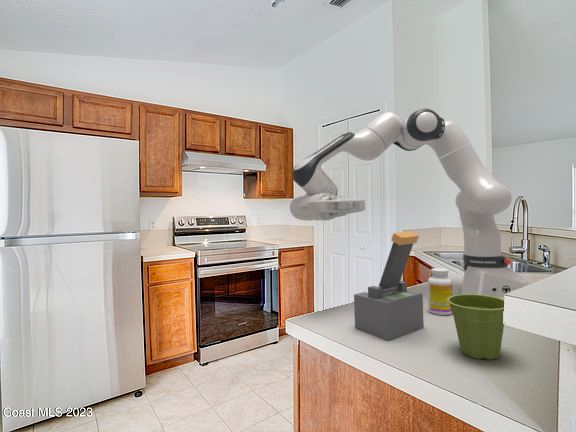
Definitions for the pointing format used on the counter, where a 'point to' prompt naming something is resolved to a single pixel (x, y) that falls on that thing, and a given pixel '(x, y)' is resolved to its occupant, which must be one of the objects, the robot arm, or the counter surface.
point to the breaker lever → (397, 260)
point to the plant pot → (478, 324)
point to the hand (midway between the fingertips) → (354, 205)
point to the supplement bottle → (439, 292)
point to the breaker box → (389, 312)
